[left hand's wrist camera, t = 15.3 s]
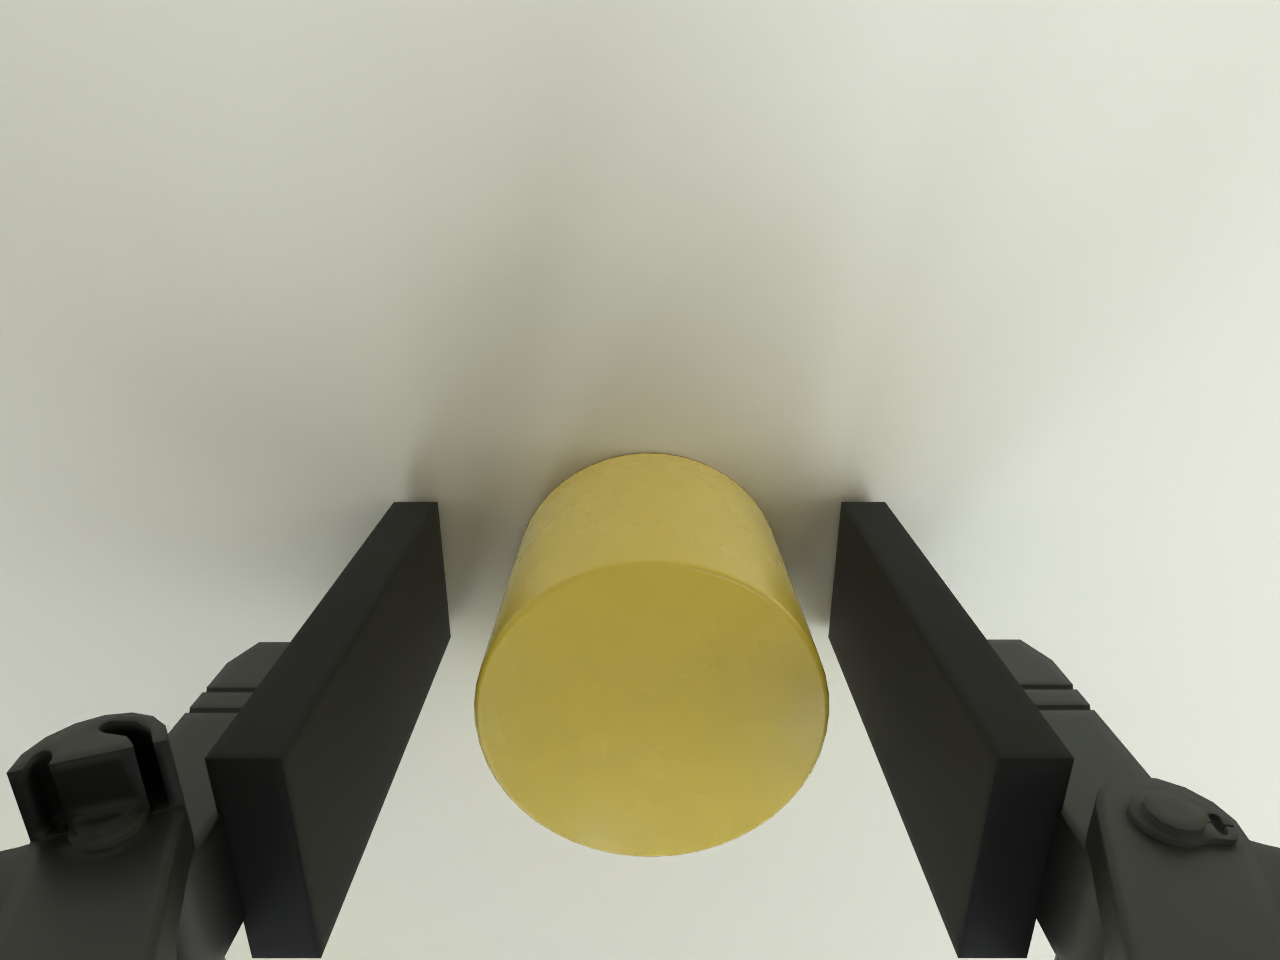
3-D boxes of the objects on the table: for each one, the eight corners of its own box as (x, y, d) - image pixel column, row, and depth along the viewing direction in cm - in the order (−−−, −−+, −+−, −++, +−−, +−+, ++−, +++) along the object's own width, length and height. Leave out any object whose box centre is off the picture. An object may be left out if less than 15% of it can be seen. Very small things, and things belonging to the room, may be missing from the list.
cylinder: (775, 682, 15) (821, 854, 12) (528, 688, 16) (490, 863, 12) (783, 447, 14) (839, 555, 10) (506, 455, 14) (453, 567, 10)
